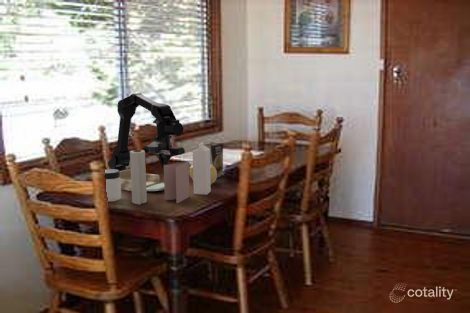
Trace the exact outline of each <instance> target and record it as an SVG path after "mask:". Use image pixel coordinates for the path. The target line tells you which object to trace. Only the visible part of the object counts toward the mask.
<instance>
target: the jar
mask: <svg viewBox="0 0 470 313" xmlns="http://www.w3.org/2000/svg"><path fill="white" fill-rule="evenodd" d="M104 170H105V178H106V192H107V197H108V201H107V202H117V201H119V200H122V189H121V180H120V173H119V170H116V169H112V168H109V169H104Z"/></svg>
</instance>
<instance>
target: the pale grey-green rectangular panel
mask: <svg viewBox="0 0 470 313" xmlns="http://www.w3.org/2000/svg"><path fill="white" fill-rule="evenodd" d="M157 191H165V189H164V182H160V183H159V184H156V185H153V186H150V187H147V188H146V192H157Z"/></svg>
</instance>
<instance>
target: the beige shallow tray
mask: <svg viewBox="0 0 470 313" xmlns="http://www.w3.org/2000/svg"><path fill="white" fill-rule="evenodd" d="M119 173H120V180H121V191H122V190H123V191H129V192H132V189H131V167H130V168H128V169H127V168H126V170H123V171H119ZM159 183H161V182H160V174H154V173H146V188H147V187H150V186H153V185H156V184H159Z"/></svg>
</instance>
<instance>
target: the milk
mask: <svg viewBox="0 0 470 313" xmlns="http://www.w3.org/2000/svg"><path fill="white" fill-rule="evenodd" d="M204 145H205V144H204V141H201V142H200V143H198V147H197V148H195V149H193V150H192V165H193V179H192V181H193V184H192V185H193V194H194V195H204V196H205V195H206V196H207V195H208V194H209V193H211V192H212V190H211V185H212V184H211V182H210V149H209V148H207V147H206V146H204Z"/></svg>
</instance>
